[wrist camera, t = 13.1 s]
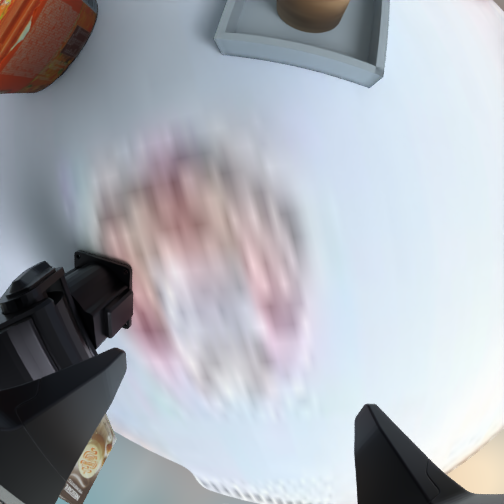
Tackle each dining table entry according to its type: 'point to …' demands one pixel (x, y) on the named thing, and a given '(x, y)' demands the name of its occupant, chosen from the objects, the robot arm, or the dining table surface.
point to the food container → (41, 40)
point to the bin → (309, 39)
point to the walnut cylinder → (312, 14)
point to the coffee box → (89, 464)
